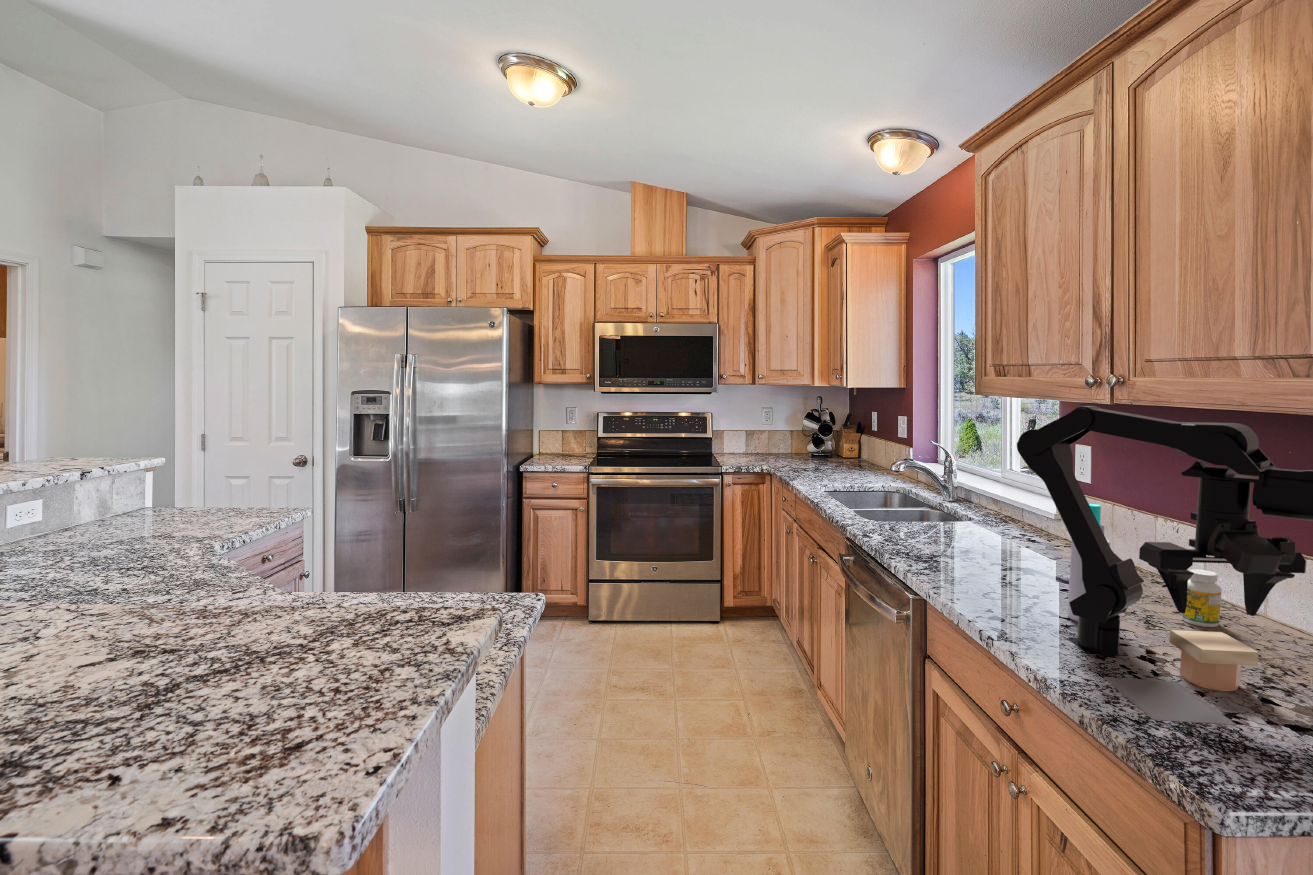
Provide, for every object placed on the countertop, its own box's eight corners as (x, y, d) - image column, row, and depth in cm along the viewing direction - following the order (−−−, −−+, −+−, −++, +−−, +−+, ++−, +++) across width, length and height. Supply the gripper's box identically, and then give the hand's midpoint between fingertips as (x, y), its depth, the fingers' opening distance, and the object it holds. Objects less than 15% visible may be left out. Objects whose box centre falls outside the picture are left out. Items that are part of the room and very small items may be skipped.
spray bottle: (1062, 619, 122) (1068, 504, 120) (1073, 611, 126) (1079, 500, 124) (1100, 628, 117) (1107, 509, 115) (1109, 619, 121) (1116, 505, 119)
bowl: (1171, 673, 100) (1173, 643, 99) (1217, 675, 99) (1219, 645, 99) (1200, 693, 94) (1202, 661, 93) (1249, 695, 93) (1251, 663, 92)
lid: (1169, 642, 100) (1170, 629, 100) (1221, 644, 99) (1222, 632, 99) (1201, 662, 93) (1202, 649, 92) (1257, 665, 92) (1258, 652, 91)
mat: (1103, 680, 97) (1103, 677, 97) (1176, 684, 96) (1176, 681, 96) (1152, 723, 86) (1152, 719, 86) (1236, 728, 84) (1236, 724, 84)
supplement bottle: (1227, 627, 117) (1231, 575, 116) (1200, 628, 117) (1204, 577, 116) (1198, 616, 123) (1202, 567, 122) (1173, 617, 122) (1177, 568, 121)
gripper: (1189, 520, 87) (1182, 632, 88) (1346, 523, 84) (1336, 638, 86) (1139, 504, 98) (1134, 604, 99) (1277, 506, 95) (1269, 608, 97)
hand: (1215, 613), depth 95 cm, fingers open, 9 cm apart
